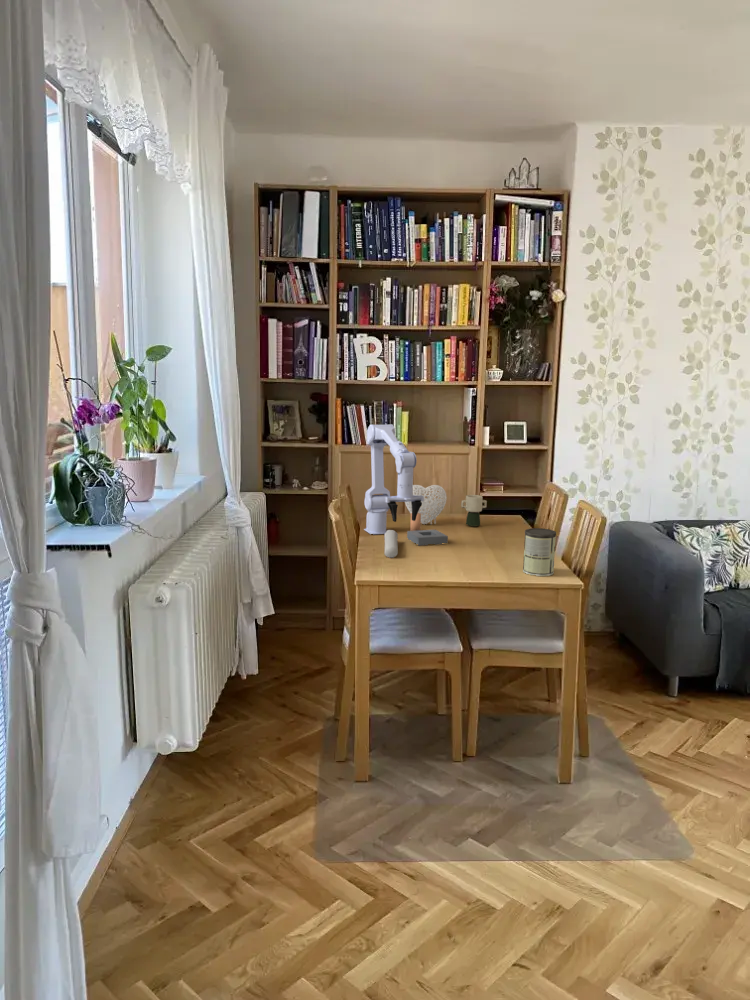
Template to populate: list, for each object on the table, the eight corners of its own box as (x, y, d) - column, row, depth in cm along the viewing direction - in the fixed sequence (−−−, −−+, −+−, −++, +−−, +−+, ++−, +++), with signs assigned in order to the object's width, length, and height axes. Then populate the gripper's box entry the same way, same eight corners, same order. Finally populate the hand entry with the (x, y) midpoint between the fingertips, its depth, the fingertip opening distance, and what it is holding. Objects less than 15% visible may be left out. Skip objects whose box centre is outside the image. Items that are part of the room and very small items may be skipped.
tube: (400, 548, 271) (399, 532, 295) (386, 543, 270) (386, 527, 295) (395, 562, 272) (395, 545, 296) (381, 557, 271) (382, 540, 296)
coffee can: (518, 568, 262) (520, 528, 260) (547, 568, 263) (550, 527, 261) (528, 576, 252) (530, 534, 250) (558, 576, 253) (561, 534, 251)
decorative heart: (443, 521, 335) (444, 483, 332) (447, 527, 325) (449, 487, 322) (402, 521, 334) (403, 482, 331) (405, 527, 324) (406, 486, 320)
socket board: (407, 538, 303) (407, 531, 302) (435, 536, 306) (435, 529, 306) (418, 545, 291) (418, 537, 291) (447, 543, 295) (447, 536, 295)
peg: (408, 534, 309) (409, 512, 308) (417, 534, 310) (418, 512, 309) (412, 537, 305) (413, 514, 304) (421, 536, 307) (422, 514, 305)
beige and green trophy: (483, 524, 332) (484, 494, 330) (487, 527, 325) (488, 497, 323) (458, 524, 331) (459, 494, 329) (462, 527, 324) (463, 497, 322)
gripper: (390, 487, 279) (389, 523, 281) (427, 486, 283) (426, 522, 286) (383, 484, 285) (383, 519, 288) (420, 483, 290) (419, 518, 292)
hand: (404, 520), depth 287 cm, fingers open, 7 cm apart
